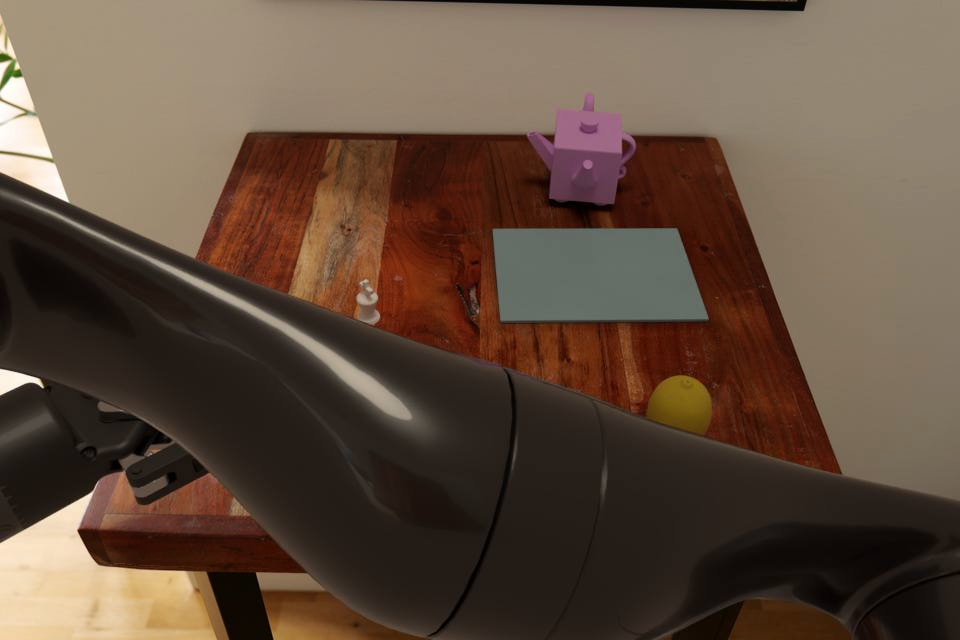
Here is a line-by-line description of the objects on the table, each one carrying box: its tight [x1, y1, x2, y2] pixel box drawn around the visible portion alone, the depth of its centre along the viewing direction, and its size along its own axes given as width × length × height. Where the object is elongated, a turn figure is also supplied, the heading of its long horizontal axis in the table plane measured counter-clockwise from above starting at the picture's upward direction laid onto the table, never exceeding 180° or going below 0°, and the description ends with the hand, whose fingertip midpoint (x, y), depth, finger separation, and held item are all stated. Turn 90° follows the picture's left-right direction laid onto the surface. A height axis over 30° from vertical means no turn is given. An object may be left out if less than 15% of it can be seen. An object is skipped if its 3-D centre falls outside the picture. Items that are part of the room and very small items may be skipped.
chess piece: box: [355, 278, 381, 326], centre depth 81 cm, size 5×5×10 cm
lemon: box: [646, 374, 713, 436], centre depth 75 cm, size 6×6×8 cm
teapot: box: [526, 92, 637, 207], centre depth 105 cm, size 18×13×10 cm
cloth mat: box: [491, 227, 710, 324], centre depth 95 cm, size 16×22×1 cm
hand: (237, 347), depth 57 cm, fingers open, 8 cm apart
